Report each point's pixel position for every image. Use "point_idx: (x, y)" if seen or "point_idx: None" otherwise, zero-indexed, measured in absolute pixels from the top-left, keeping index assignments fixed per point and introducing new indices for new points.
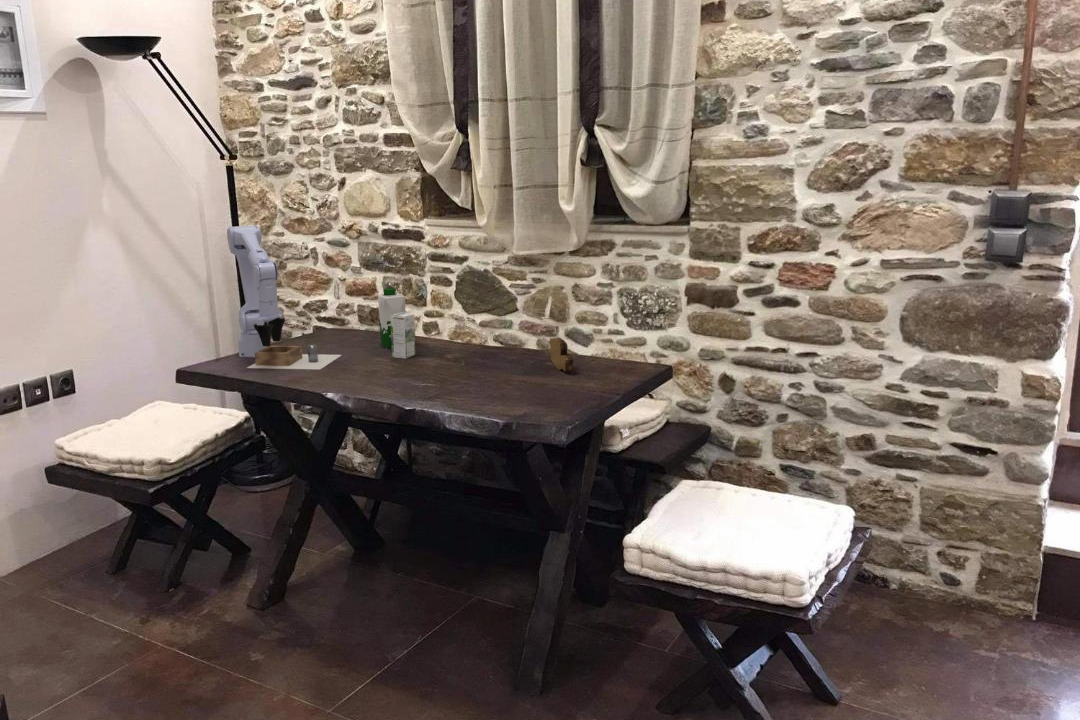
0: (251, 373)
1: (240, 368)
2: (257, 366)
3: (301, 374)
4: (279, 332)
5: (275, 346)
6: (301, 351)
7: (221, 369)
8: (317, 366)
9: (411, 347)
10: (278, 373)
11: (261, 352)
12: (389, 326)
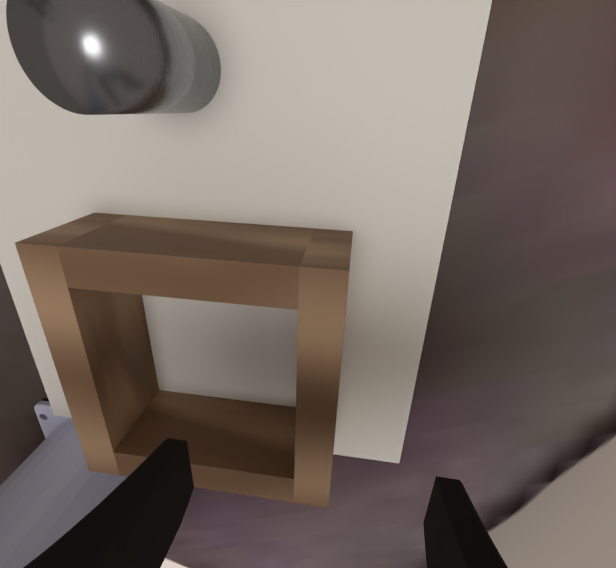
0: (442, 415)
1: None
2: (365, 420)
3: (534, 54)
4: (121, 536)
5: (101, 432)
6: (62, 228)
7: (344, 539)
8: None
9: None
10: (464, 265)
11: (308, 475)
12: None
